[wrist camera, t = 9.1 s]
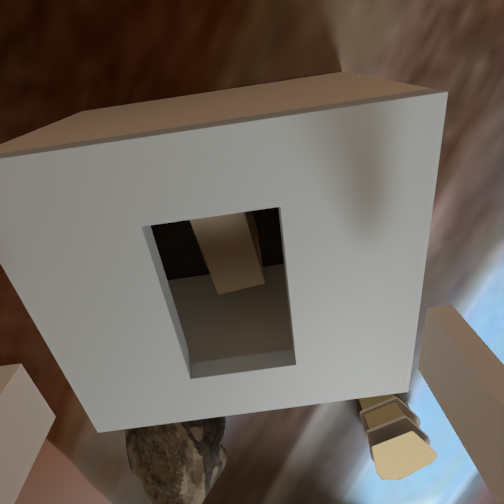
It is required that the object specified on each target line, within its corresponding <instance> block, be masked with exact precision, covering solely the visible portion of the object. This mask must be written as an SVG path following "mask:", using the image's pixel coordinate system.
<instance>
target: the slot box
mask: <svg viewBox="0 0 504 504" xmlns="http://www.w3.org/2000/svg"><path fill="white" fill-rule="evenodd" d="M447 96H448V92H447V91H442V90H436V89H431V88H426V87H420V86H415V85H410V84H405V83H399V82H394V81H389V80H383V79H378V78H373V77H368V76H362V75H357V74H352V73H346V72H337V73H331V74H324V75H317V76H311V77H304V78H298V79H291V80H284V81H278V82H271V83H265V84H258V85H251V86H245V87H238V88H232V89H225V90H219V91H212V92H205V93H199V94H192V95H186V96H179V97H172V98H166V99H159V100H153V101H146V102H139V103H133V104H126V105H120V106H113V107H106V108H100V109H93V110H87V111H82V112H79V113H77V114H74V115H72V116H69V117H67V118H64V119H62V120H59V121H57V122H54V123H52V124H49V125H47V126H45V127H42V128H40V129H37V130H35V131H32V132H30V133H27V134H25V135H22V136H20V137H17V138H15V139H13V140H10V141H8V142H5V143H3V144H0V264H1V266H2V267H3V269H4V271H5V272H6V274H7V276H8V278H9V279H10V281H11V283H12V285H13V286H14V288H15V290H16V292H17V293H18V295H19V297H20V299H21V300H22V302H23V304H24V305H25V307H26V309H27V311H28V312H29V314H30V316H31V318H32V319H33V321H34V323H35V325H36V326H37V328H38V330H39V332H40V333H41V335H42V337H43V338H44V340H45V342H46V344H47V345H48V347H49V349H50V351H51V352H52V354H53V356H54V358H55V359H56V361H57V363H58V364H59V366H60V368H61V370H62V371H63V373H64V375H65V377H66V378H67V380H68V382H69V384H70V385H71V387H72V389H73V391H74V392H75V394H76V396H77V397H78V399H79V401H80V403H81V404H82V406H83V408H84V410H85V411H86V413H87V415H88V417H89V418H90V420H91V422H92V424H93V425H94V427H95V429H96V430H97V432H98V433H100V432H108V431H116V430H123V429H131V428H138V427H146V426H154V425H161V424H169V423H176V422H184V421H192V420H199V419H207V418H214V417H222V416H230V415H237V414H245V413H252V412H260V411H268V410H275V409H283V408H290V407H298V406H306V405H313V404H321V403H328V402H336V401H344V400H351V399H359V398H366V397H374V396H382V395H389V394H397V393H404V392H409V385H410V377H411V369H412V362H413V354H414V347H415V339H416V332H417V324H418V316H419V309H420V301H421V294H422V286H423V278H424V271H425V263H426V256H427V248H428V240H429V233H430V225H431V218H432V210H433V202H434V195H435V187H436V180H437V172H438V165H439V157H440V149H441V142H442V134H443V127H444V119H445V111H446V104H447ZM275 207H278V209H279V219H280V228H281V238H282V248H283V257H284V264H280V265H273V266H266V267H263V274H264V281H265V284H261V285H257V286H253V287H248V288H244V289H240V290H236V291H232V292H228V293H223V294H219V295H218V293H217V291H216V288H215V285H214V283H213V280H212V278H211V275H210V274H209V275H202V276H194V277H187V278H180V279H173V280H167V278H166V275H165V271H164V268H163V265H162V262H161V258H160V255H159V252H158V249H157V245H156V242H155V239H154V235H153V232H152V229H151V226H150V225H157V224H164V223H171V222H178V221H185V220H192V219H199V218H206V217H213V216H220V215H226V214H233V213H240V212H247V211H254V210H261V209H268V208H275Z"/></svg>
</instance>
